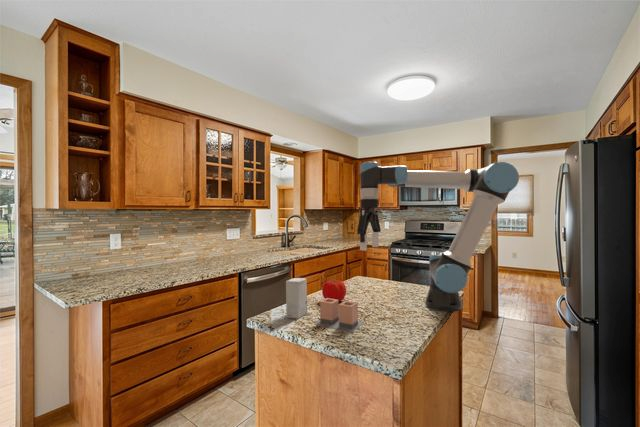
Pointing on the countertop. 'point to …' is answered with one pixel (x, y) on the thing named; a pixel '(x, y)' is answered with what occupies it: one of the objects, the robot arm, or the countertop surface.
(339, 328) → the pin board
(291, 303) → the skincare box
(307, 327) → the countertop surface
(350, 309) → the sleeve seated
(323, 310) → the sleeve free
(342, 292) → the tomato
